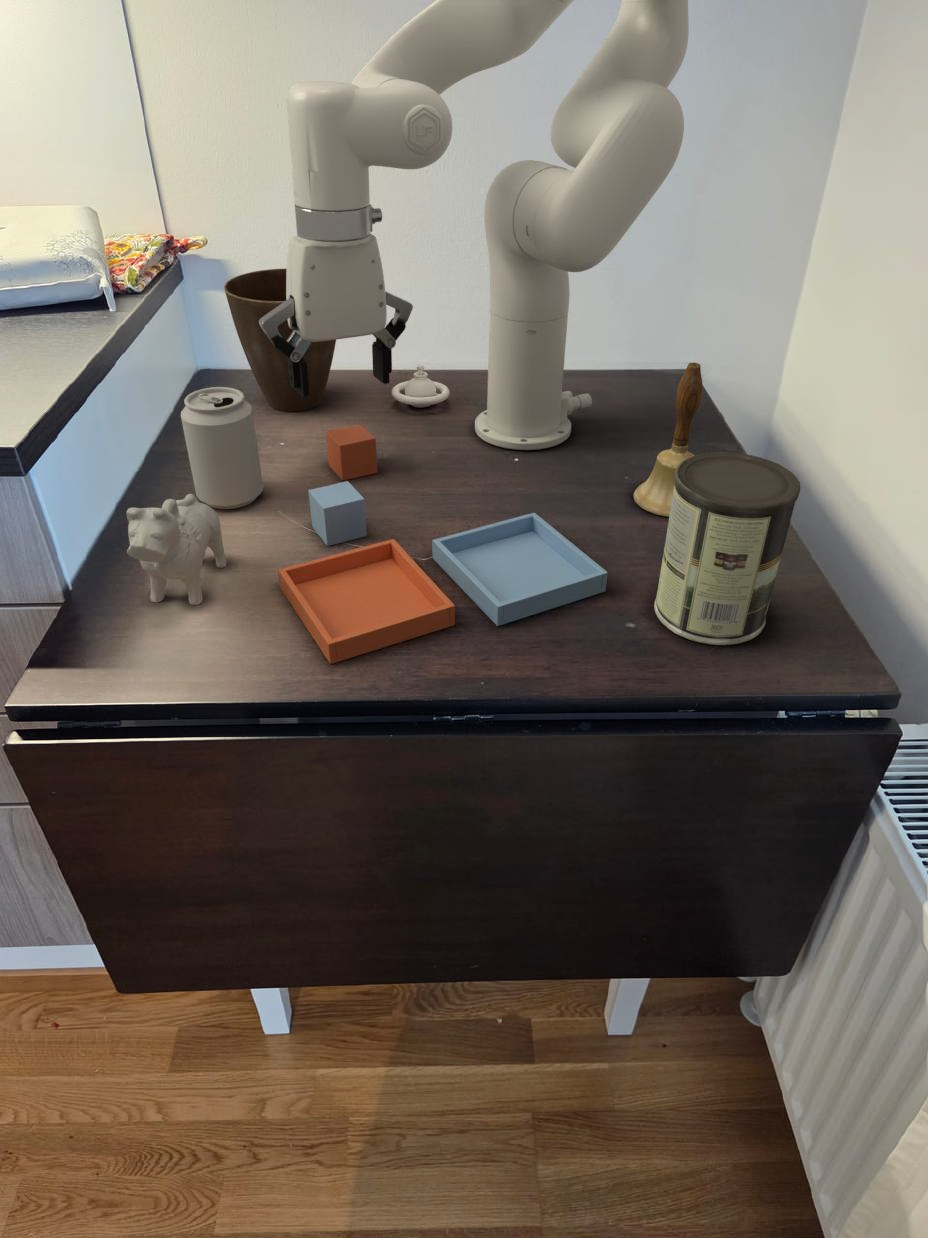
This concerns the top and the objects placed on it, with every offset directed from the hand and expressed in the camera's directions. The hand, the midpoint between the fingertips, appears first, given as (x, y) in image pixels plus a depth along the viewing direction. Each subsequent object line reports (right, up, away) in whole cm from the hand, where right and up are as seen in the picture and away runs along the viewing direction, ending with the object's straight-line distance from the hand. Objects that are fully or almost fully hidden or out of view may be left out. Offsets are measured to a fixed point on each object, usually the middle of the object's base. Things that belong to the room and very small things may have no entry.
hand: (342, 386), depth 99 cm
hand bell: (+37, -13, +1) cm, 40 cm away
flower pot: (-10, +4, +23) cm, 25 cm away
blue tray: (+19, -22, -12) cm, 31 cm away
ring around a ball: (+8, +3, +23) cm, 24 cm away
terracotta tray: (+5, -25, -16) cm, 30 cm away
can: (-13, -13, +1) cm, 18 cm away
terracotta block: (0, -8, +6) cm, 11 cm away
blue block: (0, -17, -5) cm, 18 cm away
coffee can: (+37, -26, -17) cm, 48 cm away
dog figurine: (-13, -23, -14) cm, 30 cm away
